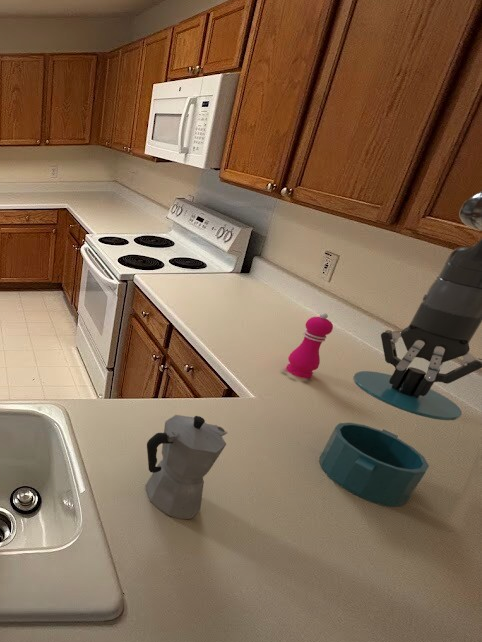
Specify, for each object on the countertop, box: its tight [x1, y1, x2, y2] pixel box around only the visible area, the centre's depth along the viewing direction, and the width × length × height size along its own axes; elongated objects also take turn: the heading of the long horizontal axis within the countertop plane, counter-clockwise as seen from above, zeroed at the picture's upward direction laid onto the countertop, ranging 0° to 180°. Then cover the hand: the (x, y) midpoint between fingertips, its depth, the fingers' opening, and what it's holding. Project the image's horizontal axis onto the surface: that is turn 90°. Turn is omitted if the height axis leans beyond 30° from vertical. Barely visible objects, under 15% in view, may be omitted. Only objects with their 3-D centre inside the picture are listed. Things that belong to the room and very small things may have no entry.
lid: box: [352, 366, 463, 421], centre depth 77 cm, size 15×15×6 cm
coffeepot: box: [145, 414, 228, 520], centre depth 71 cm, size 15×9×18 cm, turn 105°
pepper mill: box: [285, 312, 334, 379], centre depth 118 cm, size 7×7×20 cm
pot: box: [319, 422, 430, 508], centre depth 82 cm, size 14×19×8 cm
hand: (405, 390), depth 77 cm, fingers closed on lid, 2 cm apart
